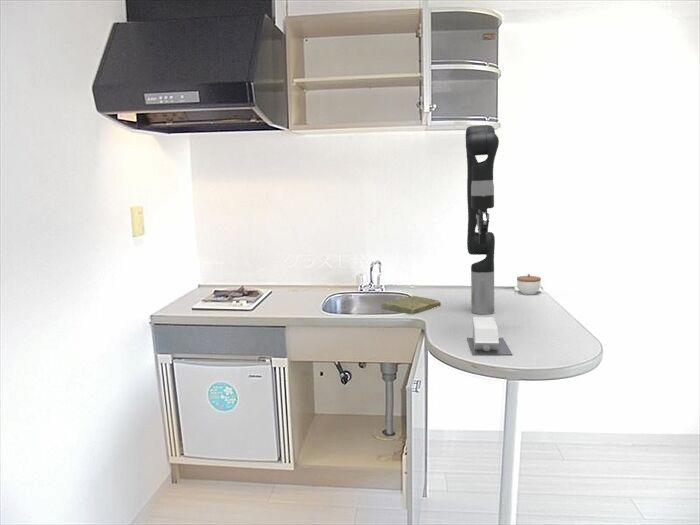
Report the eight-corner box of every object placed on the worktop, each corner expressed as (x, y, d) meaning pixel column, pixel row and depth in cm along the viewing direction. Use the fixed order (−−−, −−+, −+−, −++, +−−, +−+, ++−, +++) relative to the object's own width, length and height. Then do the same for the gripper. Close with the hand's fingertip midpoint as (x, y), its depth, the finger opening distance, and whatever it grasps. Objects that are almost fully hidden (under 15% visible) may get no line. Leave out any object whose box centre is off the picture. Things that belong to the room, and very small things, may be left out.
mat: (467, 338, 177) (466, 337, 177) (502, 338, 175) (502, 337, 175) (472, 355, 159) (472, 354, 159) (512, 355, 158) (512, 354, 158)
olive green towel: (441, 307, 228) (441, 299, 227) (412, 316, 214) (412, 307, 213) (408, 301, 241) (408, 294, 240) (379, 309, 227) (379, 301, 227)
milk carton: (472, 316, 177) (475, 331, 158) (493, 316, 175) (498, 332, 157) (472, 336, 178) (475, 354, 159) (494, 337, 176) (499, 354, 158)
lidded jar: (519, 296, 241) (519, 276, 240) (515, 291, 252) (515, 272, 250) (543, 295, 240) (543, 275, 238) (537, 291, 250) (537, 272, 249)
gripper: (469, 193, 181) (469, 242, 184) (473, 195, 168) (473, 247, 171) (491, 192, 180) (491, 241, 183) (496, 194, 167) (497, 247, 170)
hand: (482, 244), depth 177 cm, fingers closed
